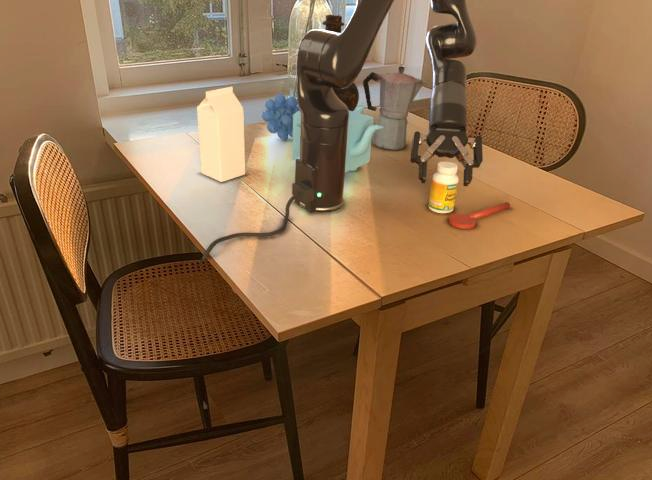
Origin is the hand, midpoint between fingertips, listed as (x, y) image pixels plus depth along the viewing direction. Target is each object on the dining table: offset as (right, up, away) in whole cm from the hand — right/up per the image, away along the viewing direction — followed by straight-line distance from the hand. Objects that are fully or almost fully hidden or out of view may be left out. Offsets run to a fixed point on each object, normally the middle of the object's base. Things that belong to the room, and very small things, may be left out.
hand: (445, 183), depth 117 cm
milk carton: (-47, +5, +15) cm, 50 cm away
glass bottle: (-23, +29, +55) cm, 66 cm away
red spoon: (+8, -6, +2) cm, 10 cm away
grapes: (-34, +18, +37) cm, 53 cm away
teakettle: (-22, +7, +21) cm, 31 cm away
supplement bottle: (0, -5, +4) cm, 6 cm away
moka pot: (-7, +16, +37) cm, 41 cm away
